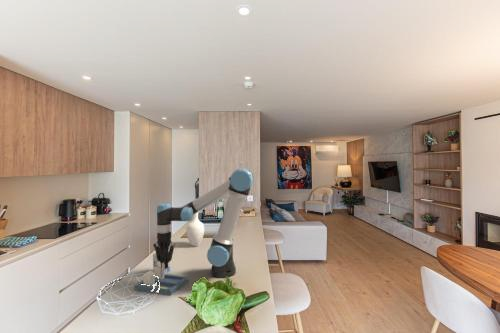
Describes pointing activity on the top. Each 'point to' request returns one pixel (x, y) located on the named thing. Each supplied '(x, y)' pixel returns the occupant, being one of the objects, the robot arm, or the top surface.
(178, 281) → the switch board
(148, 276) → the tab
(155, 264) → the ink box
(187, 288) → the top surface
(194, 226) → the vase
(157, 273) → the tab
